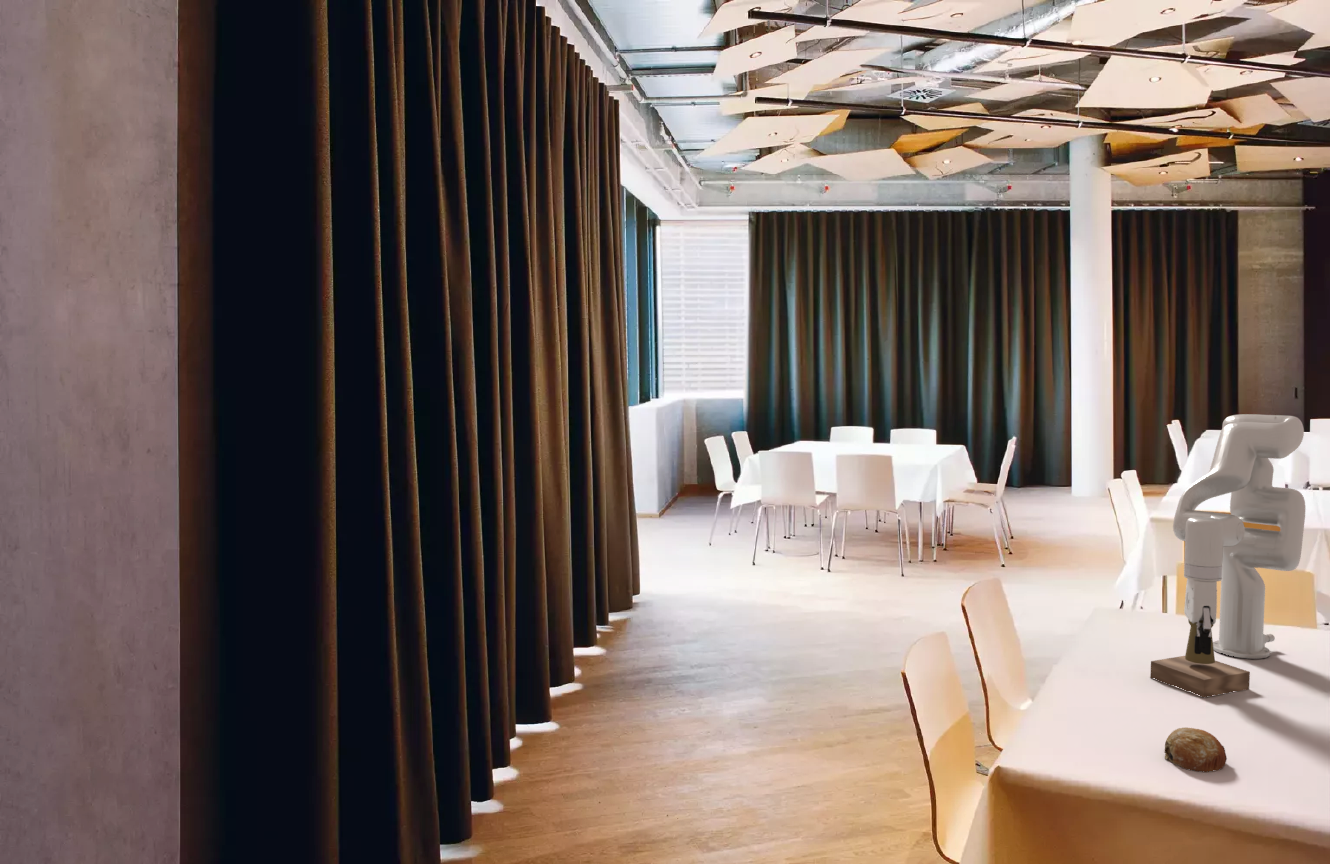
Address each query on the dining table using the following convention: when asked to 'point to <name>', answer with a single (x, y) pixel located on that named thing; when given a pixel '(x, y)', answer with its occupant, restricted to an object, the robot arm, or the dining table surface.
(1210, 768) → the bread roll
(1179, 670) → the walnut plinth
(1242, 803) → the dining table surface
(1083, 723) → the dining table surface
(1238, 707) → the dining table surface
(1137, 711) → the dining table surface
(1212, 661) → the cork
